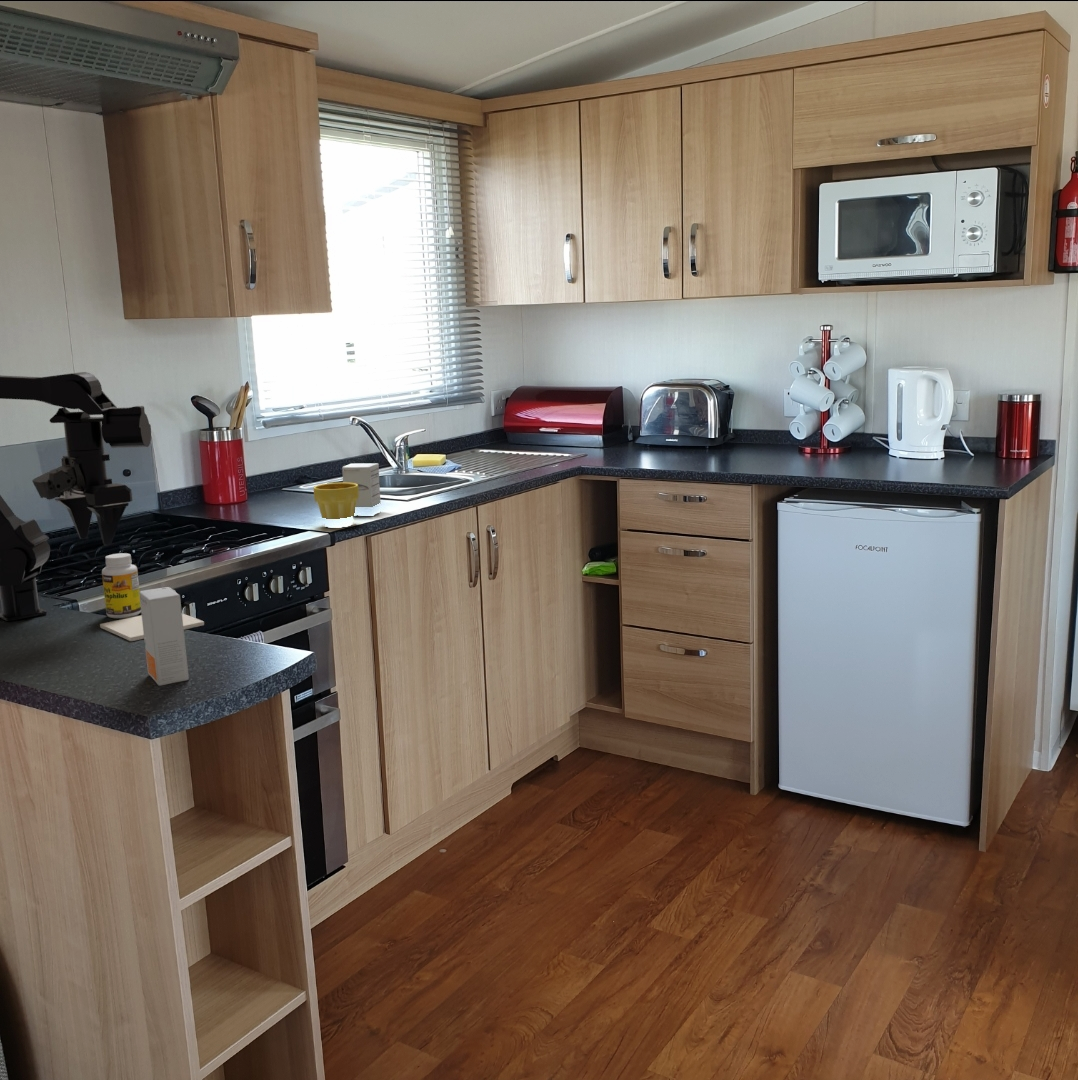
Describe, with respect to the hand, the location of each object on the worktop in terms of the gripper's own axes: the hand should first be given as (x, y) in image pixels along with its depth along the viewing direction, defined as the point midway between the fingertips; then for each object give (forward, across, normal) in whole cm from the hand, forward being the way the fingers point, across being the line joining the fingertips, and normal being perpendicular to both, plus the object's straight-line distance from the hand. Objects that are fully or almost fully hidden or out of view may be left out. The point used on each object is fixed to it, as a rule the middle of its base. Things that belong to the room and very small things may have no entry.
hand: (95, 541), depth 186 cm
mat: (+12, +16, +1) cm, 20 cm away
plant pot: (+12, -33, +72) cm, 80 cm away
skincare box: (+12, +44, -11) cm, 47 cm away
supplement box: (+12, -41, +86) cm, 96 cm away
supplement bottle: (+12, +6, +1) cm, 14 cm away
